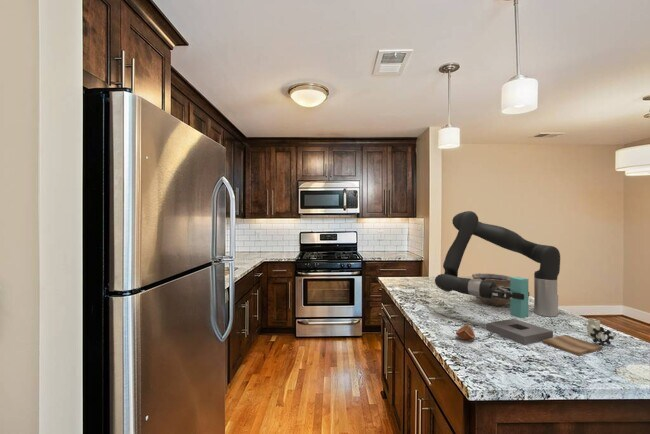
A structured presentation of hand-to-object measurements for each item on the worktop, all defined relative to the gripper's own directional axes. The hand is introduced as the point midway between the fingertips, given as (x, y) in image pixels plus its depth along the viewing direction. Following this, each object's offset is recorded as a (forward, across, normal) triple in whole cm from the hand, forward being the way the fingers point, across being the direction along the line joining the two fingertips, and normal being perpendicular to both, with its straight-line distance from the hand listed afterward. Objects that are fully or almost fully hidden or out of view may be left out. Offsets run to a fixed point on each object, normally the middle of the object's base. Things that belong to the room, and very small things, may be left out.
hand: (526, 295), depth 124 cm
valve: (+19, +16, +16) cm, 30 cm away
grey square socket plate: (-3, 0, +16) cm, 16 cm away
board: (+14, +1, +16) cm, 21 cm away
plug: (-3, 0, +8) cm, 9 cm away
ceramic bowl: (-27, +42, +16) cm, 52 cm away
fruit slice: (-15, -21, +16) cm, 30 cm away
